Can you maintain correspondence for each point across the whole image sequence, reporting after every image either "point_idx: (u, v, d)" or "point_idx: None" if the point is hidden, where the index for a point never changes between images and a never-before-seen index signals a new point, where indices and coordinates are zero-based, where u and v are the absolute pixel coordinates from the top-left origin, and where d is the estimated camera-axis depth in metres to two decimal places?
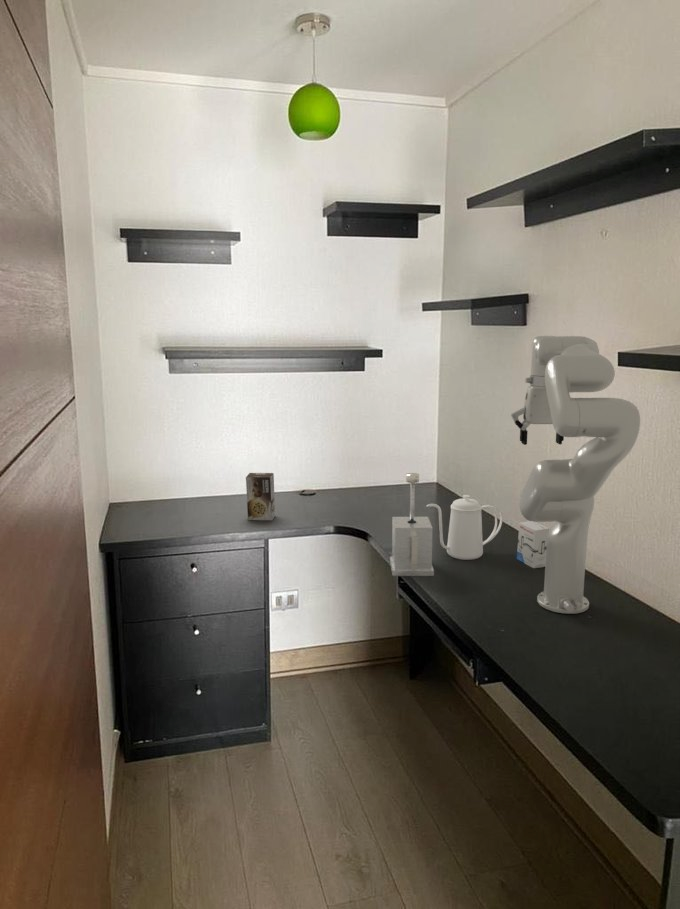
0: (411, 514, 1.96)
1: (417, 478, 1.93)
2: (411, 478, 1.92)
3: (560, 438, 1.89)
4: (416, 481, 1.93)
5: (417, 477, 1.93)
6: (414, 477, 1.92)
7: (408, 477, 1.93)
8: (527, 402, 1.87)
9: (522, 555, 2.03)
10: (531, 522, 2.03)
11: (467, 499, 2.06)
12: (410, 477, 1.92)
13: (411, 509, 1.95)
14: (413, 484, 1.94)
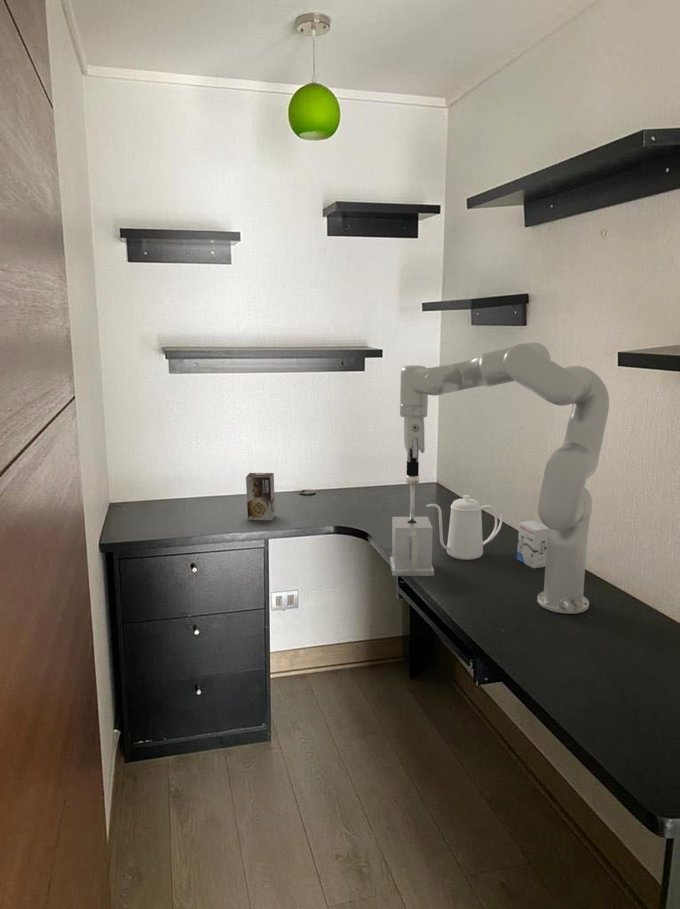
0: (411, 515, 1.96)
1: (417, 479, 1.93)
2: (411, 479, 1.92)
3: None
4: (416, 482, 1.93)
5: (417, 478, 1.93)
6: (414, 478, 1.92)
7: (408, 478, 1.93)
8: (420, 433, 1.86)
9: (522, 555, 2.03)
10: (531, 522, 2.03)
11: (467, 499, 2.06)
12: (410, 478, 1.92)
13: (411, 510, 1.96)
14: (413, 485, 1.94)
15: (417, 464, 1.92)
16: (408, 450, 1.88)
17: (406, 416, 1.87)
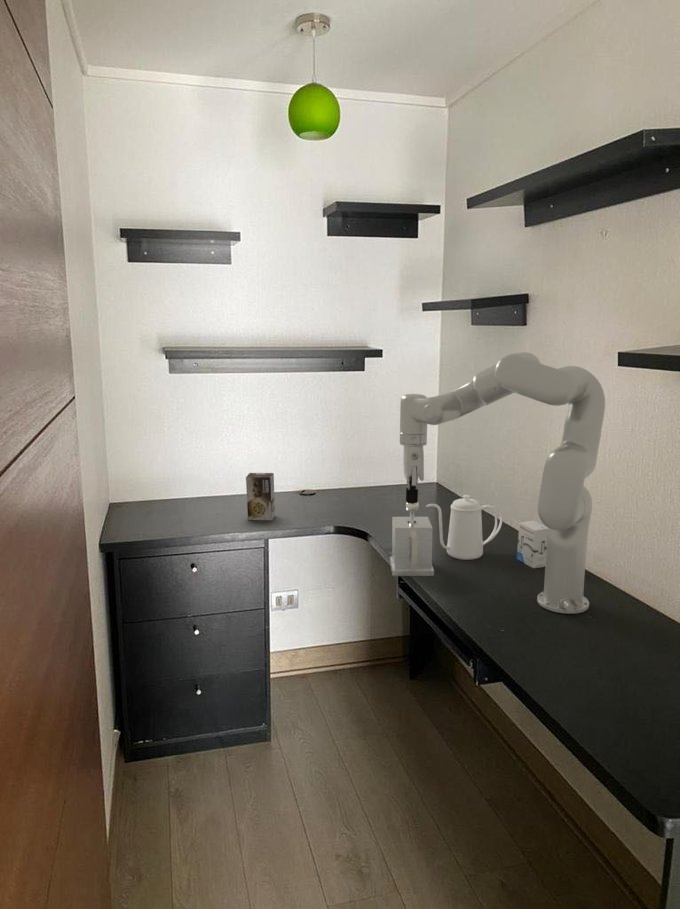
0: None
1: (416, 506, 1.94)
2: (411, 506, 1.94)
3: None
4: (416, 509, 1.94)
5: (416, 505, 1.94)
6: (414, 505, 1.94)
7: (408, 505, 1.94)
8: (420, 461, 1.88)
9: (522, 554, 2.03)
10: (531, 522, 2.03)
11: (467, 499, 2.06)
12: (410, 505, 1.94)
13: None
14: (413, 512, 1.96)
15: (416, 491, 1.94)
16: (407, 478, 1.89)
17: (406, 444, 1.89)
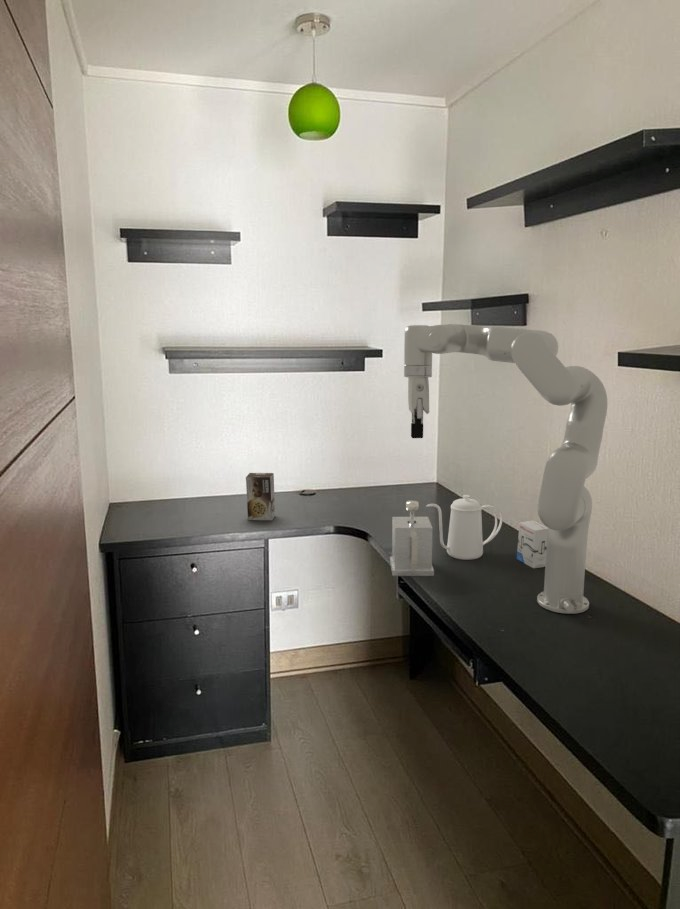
0: None
1: (416, 506, 1.94)
2: (411, 506, 1.94)
3: None
4: (416, 509, 1.94)
5: (416, 505, 1.94)
6: (414, 505, 1.94)
7: (408, 505, 1.94)
8: (425, 393, 1.84)
9: (522, 555, 2.03)
10: (531, 522, 2.03)
11: (467, 499, 2.06)
12: (410, 505, 1.94)
13: None
14: (413, 512, 1.96)
15: (422, 426, 1.90)
16: (413, 411, 1.85)
17: (410, 376, 1.85)
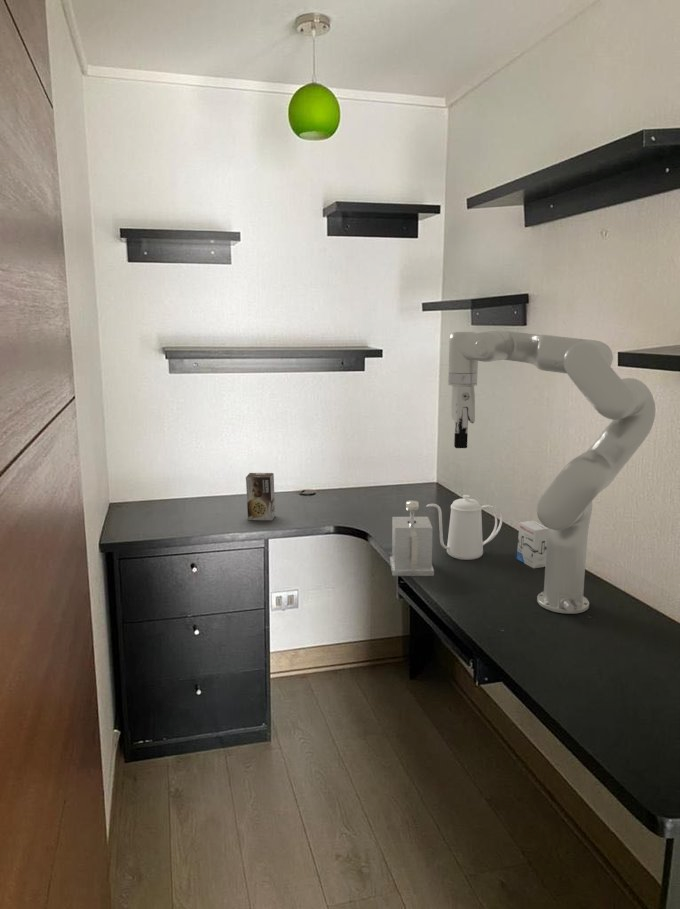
0: None
1: (416, 506, 1.94)
2: (411, 506, 1.94)
3: None
4: (416, 509, 1.94)
5: (416, 505, 1.94)
6: (414, 505, 1.94)
7: (408, 505, 1.94)
8: (471, 402, 1.78)
9: (522, 555, 2.03)
10: (531, 522, 2.03)
11: (467, 499, 2.06)
12: (410, 505, 1.94)
13: None
14: (413, 512, 1.96)
15: (466, 435, 1.84)
16: (458, 420, 1.79)
17: (455, 384, 1.79)
